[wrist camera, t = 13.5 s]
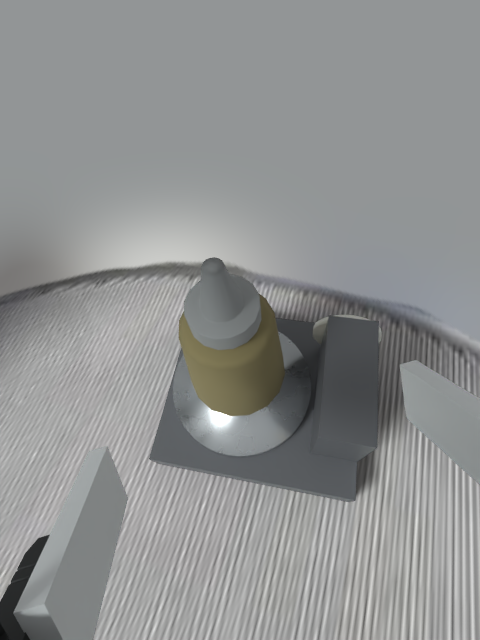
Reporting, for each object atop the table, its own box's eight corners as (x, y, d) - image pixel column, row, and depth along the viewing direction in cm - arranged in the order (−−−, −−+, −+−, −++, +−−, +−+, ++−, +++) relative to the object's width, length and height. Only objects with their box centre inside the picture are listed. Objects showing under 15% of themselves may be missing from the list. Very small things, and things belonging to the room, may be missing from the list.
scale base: (158, 463, 35) (120, 445, 26) (198, 320, 42) (178, 269, 34) (360, 504, 32) (393, 498, 23) (365, 342, 39) (391, 292, 31)
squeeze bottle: (302, 390, 33) (328, 275, 17) (231, 446, 31) (188, 373, 16) (249, 329, 37) (230, 187, 21) (182, 376, 35) (107, 258, 19)
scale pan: (158, 442, 33) (155, 440, 32) (193, 319, 39) (192, 314, 38) (302, 470, 31) (303, 468, 30) (316, 335, 37) (317, 330, 36)
